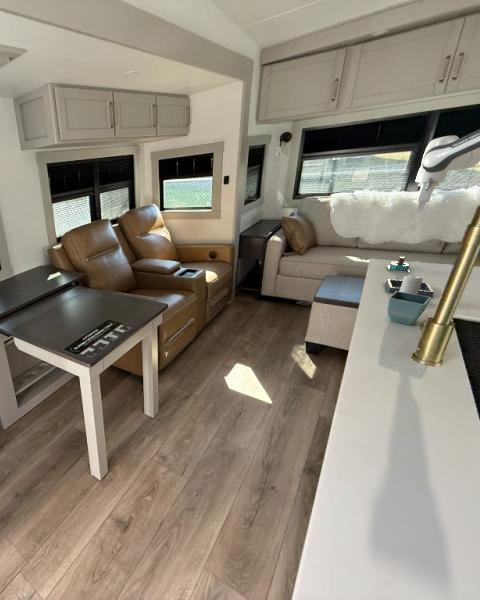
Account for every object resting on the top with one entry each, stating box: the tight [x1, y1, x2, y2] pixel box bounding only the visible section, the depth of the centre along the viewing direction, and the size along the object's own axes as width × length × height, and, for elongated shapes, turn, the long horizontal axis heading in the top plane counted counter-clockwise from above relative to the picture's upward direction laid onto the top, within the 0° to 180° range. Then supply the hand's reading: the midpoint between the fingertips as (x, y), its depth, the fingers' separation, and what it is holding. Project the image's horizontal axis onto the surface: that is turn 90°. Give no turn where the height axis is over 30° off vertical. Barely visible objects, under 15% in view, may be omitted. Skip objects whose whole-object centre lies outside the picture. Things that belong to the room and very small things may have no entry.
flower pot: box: [386, 291, 432, 326], centre depth 109 cm, size 9×9×9 cm
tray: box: [385, 278, 435, 299], centre depth 131 cm, size 13×12×3 cm
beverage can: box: [399, 274, 424, 295], centre depth 118 cm, size 5×5×12 cm
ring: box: [389, 261, 410, 272], centre depth 153 cm, size 6×6×2 cm
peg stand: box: [387, 256, 411, 273], centre depth 152 cm, size 7×7×6 cm
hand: (420, 209), depth 144 cm, fingers open, 8 cm apart
